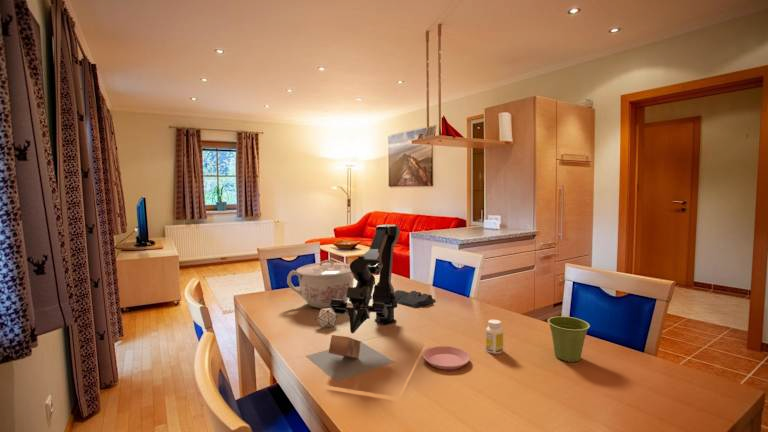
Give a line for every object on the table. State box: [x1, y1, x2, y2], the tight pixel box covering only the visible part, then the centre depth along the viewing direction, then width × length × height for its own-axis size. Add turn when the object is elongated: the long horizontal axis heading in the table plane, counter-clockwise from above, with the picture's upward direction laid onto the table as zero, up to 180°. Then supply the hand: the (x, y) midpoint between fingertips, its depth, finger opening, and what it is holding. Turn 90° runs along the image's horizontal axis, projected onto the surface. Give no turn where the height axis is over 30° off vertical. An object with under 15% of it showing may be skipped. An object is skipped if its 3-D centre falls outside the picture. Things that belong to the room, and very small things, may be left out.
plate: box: [422, 345, 471, 371], centre depth 119 cm, size 14×14×2 cm
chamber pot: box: [286, 259, 355, 309], centre depth 178 cm, size 28×28×21 cm
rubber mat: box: [305, 341, 395, 382], centre depth 120 cm, size 20×20×1 cm
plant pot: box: [547, 315, 591, 363], centre depth 121 cm, size 12×12×11 cm
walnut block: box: [328, 334, 362, 358], centre depth 117 cm, size 5×5×12 cm
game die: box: [314, 307, 339, 330], centre depth 149 cm, size 9×8×10 cm
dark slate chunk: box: [394, 289, 437, 309], centre depth 183 cm, size 15×22×5 cm
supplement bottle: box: [485, 319, 504, 355], centre depth 126 cm, size 5×5×10 cm
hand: (352, 332), depth 121 cm, fingers closed
